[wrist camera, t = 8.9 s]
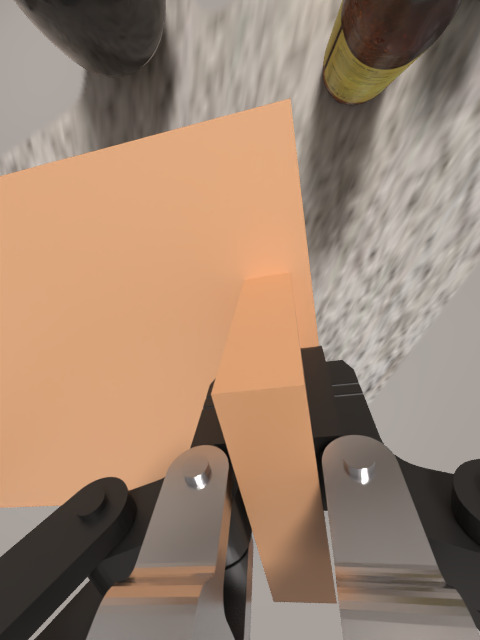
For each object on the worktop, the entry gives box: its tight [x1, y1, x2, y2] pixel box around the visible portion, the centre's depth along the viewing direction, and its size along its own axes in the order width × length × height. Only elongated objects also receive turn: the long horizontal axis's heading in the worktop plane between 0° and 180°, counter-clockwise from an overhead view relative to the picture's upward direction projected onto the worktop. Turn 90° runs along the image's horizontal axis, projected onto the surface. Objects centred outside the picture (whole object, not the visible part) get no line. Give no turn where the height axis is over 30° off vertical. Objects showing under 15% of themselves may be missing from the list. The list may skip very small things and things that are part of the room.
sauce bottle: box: [323, 0, 461, 105], centre depth 19 cm, size 7×6×20 cm
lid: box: [0, 99, 336, 603], centre depth 11 cm, size 21×15×7 cm
